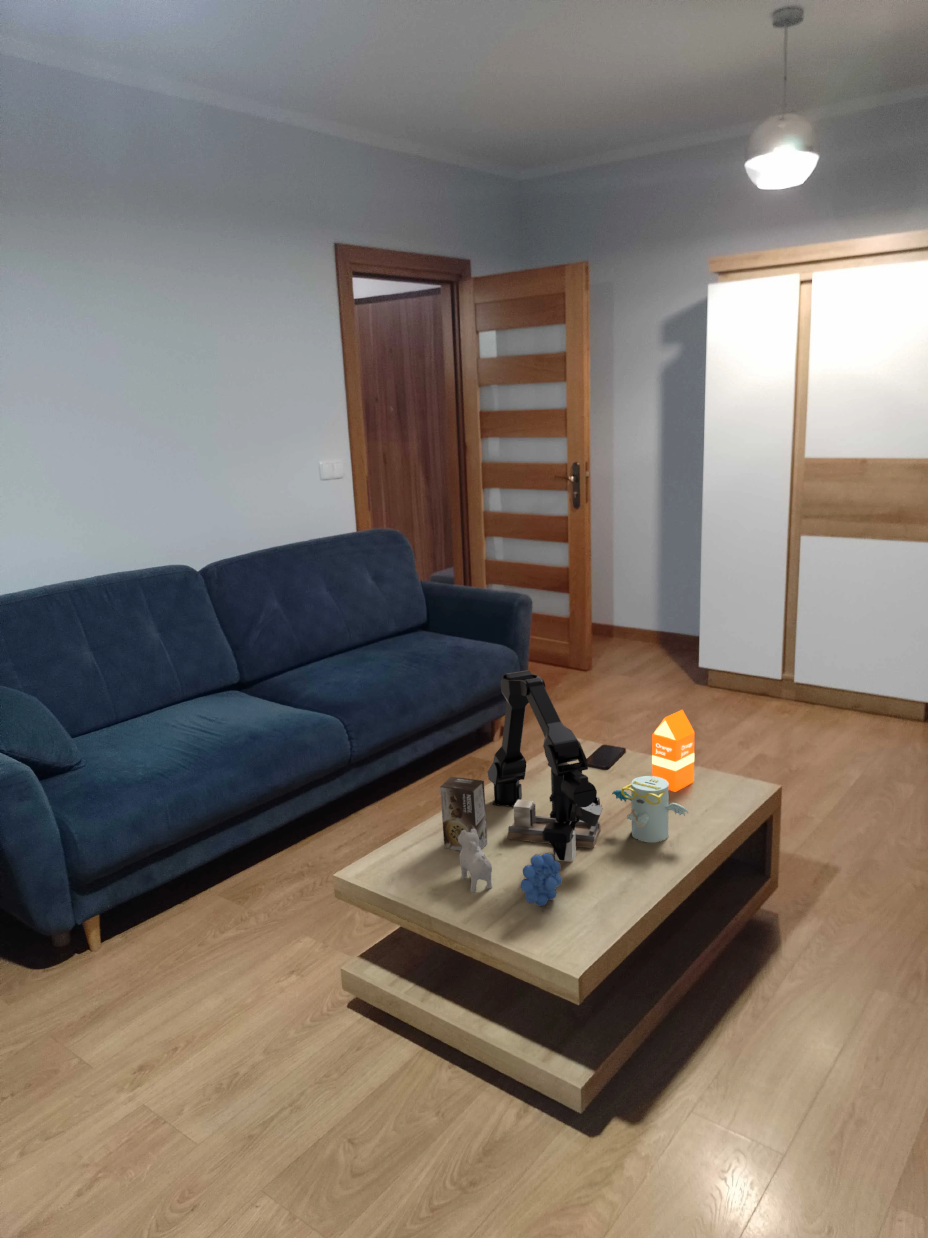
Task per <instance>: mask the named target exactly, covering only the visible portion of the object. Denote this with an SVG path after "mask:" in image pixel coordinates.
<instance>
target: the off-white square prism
mask: <svg viewBox="0 0 928 1238" xmlns="http://www.w3.org/2000/svg"><path fill="white" fill-rule="evenodd" d="M573 835H574V836H573V838H572V840H571V841H570V842H569V843H567V848H566V854H565V860H564V861H562V860H559V858H558V856H557V854H556V853H555V851H554V849H553V848H552V851H553V854H552V856H555V857H554V860H556V861H562V862H569V863H573V862H574V859H575V857H576V855H577V846H576V832H575V830H573Z"/></svg>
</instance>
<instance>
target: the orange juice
mask: <svg viewBox="0 0 928 1238" xmlns="http://www.w3.org/2000/svg"><path fill="white" fill-rule="evenodd" d="M651 736H652V737H651V740H652V741H651V747H652V748H651V749H652V750H651V751H652V752H651V770H652V771H651V774H652V775H651V776H655V777H660V778H663V779H665V780H667V782H668V784H669V791H671V792H674V793H676V792H678V791H679V790H681V789H684V788H686V787H687V786H689V785H691V784H693V783H694V782H695V730H694V728H693V727H692V724H691V722H690V720H689V719H688V717H687V715H686V713H685V712H684V709H680V710H679V711H676V712H674V713H672V714H669V715H667V716H665V717H664V718H663V719H662V721H661V722H660V724H659V725H658V726H657V727H656V729H655V731H654V732H653V733H652V734H651Z"/></svg>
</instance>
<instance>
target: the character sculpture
mask: <svg viewBox="0 0 928 1238" xmlns="http://www.w3.org/2000/svg"><path fill="white" fill-rule="evenodd" d="M625 790H627V791H628V790H629V791H630V792H631V793H630V794H631V795H630V794H629V793H628V792H626V791H625ZM669 791H670V790H669V784H668V782H667V780H665V779H663V778H660V777H655V776H652V775H644V776H643V775H642V776H637V777H636V778H633V779H632V780H631V782H630V783H629V784H627V785H625V786H624V787H623V786H622V787H621V789H618V790H617V789H616V790H613V792H612V793H611V795H615V799H616V800H617V799H619V800H620V802H623V801H624V802H625V803H626V802H627V800H629V801H630V802H631V812H630V813H629V814H627V816H626V819H627V820H630V821H631V835H632V837H633V838H634V839H636V840H637V839H638V841H640V840H641V841H640V842H643V841H645V842H644V843H660V842H662V840H663V841H665V840H667V839H668V838H669V811H673V812H674V814H675V815H677V814H679V816H681V815H683V816H684V817H685V816H686V814H689V810H688V809H687V808H686V807H684V806H683V805H682V804H681V805H680V804H679V803H676V802H670V804H669V799H670V797H669ZM666 838H667V839H666ZM659 841H660V842H659Z"/></svg>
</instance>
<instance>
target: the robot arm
mask: <svg viewBox="0 0 928 1238" xmlns="http://www.w3.org/2000/svg"><path fill="white" fill-rule="evenodd" d="M500 689H501V690H500V691H501V693H502V695H503V697H504V699H505V700H506V704H505V705H506V706H505V714H504V723H503V730H502V731H503V732H502V741H501V747H499V749H498V750H497V751H496V752H495V753H494V756H493V760H492V761H493V762H492V763H491V765H490V766H489V768H488V770H487V777H488V780H489V782H491V783H492V784H493V793H494V794H493V801H492V805H493V806H501V807H503V806H505V807H512V808H514V805H515V803H516V802H517V800H523V799H522V798H523V793H522V789H523V788H522V784H521V783H520V781H521V780H525V777H526V773H527V760H526V759H525V756H524V754H523V753H522V752H521V749H522V740H523V734H524V733H523V732H524V724H525V723H524V722H525V716H526V708H527V705H528V704H529V706H530V708H531V709H532V713H533V715H534V717H535V719H536V721H537V723H538V725H539V727H540V729H541V732H542V734H543V736H544V737H543V739H544V740H543V745H542V747H543V750H544V754H545V755H544V756H545V758H546V761H547V762H548V763H547V766H548V767H550V781H551V782H550V786H551V794H550V796H549V802H550V803H551V812H550V813H549V817H550V818H554V819H556V822H558V823H556V822H549V823H548V824H547V825H546V826H545V828H544V830H543V832H542V833H543V840H544V841H549V842H550V843H549V844H550V845H551V847H552V850H553V849H554V851H555V853H556V854H557V856H558V858H559V860H558V861H560V860H562V862H565V861H564V860H565V854H566V848H567V843H569V842H570V841H571V840H572V838H573V836H574V835H573V830H575V826H576V823H577V822H578V821H580V820H581V821H583V822H586V823H588V824H589V825H590V826H596V824H597V822H599V819H600V817H601V814H602V811H603V809H604V808H603V805H602V804H601V800H600V797H599V796H597V793H598V792H597V790H598V789H596V787H595V785H594V784H593V783H592V782H590V781H589V776H587V775H586V774H584V773H583V771H587V770H589V767H588V764H587V762H588V758H587V756H586V754H585V751H584V750H583V747H582V744H581V742H580V740H578V738H577V736H576V735H575V734H574V732H573V730H571V729H570V728H569V727H567V726H565V725H564V724H563V723H562V720H561V719H560V716H559V715H558V712H557V710H556V707H555V706H554V703H553V702H552V699H551V698H550V695H549V693H548V692H547V688H546V683H545V681H544V679H543V678H541V676H540V675H539V674H535V673H532V672H531V671H530V670H528V669H527V670H521V671H515V672H514V671H513V672H509V673H507V672H506V673H505V674H503V675H502V676H501V679H500ZM575 761H577V762H575ZM571 762H575V763H571Z"/></svg>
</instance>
